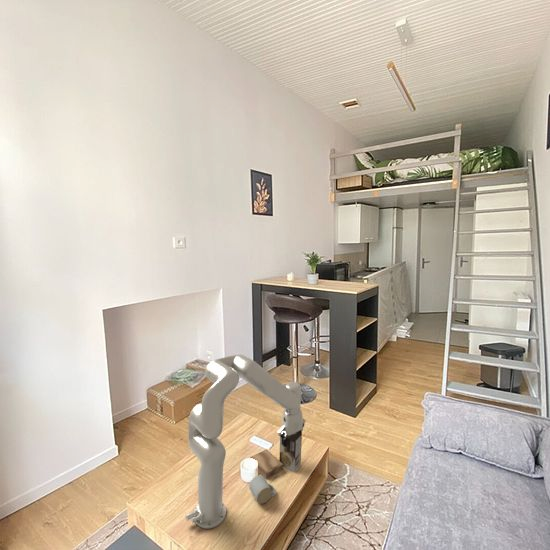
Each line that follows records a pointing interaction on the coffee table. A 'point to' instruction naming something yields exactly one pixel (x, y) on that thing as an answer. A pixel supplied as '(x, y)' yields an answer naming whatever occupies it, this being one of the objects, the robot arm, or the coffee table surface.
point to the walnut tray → (267, 464)
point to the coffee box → (291, 452)
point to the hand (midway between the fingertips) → (291, 441)
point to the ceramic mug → (261, 489)
